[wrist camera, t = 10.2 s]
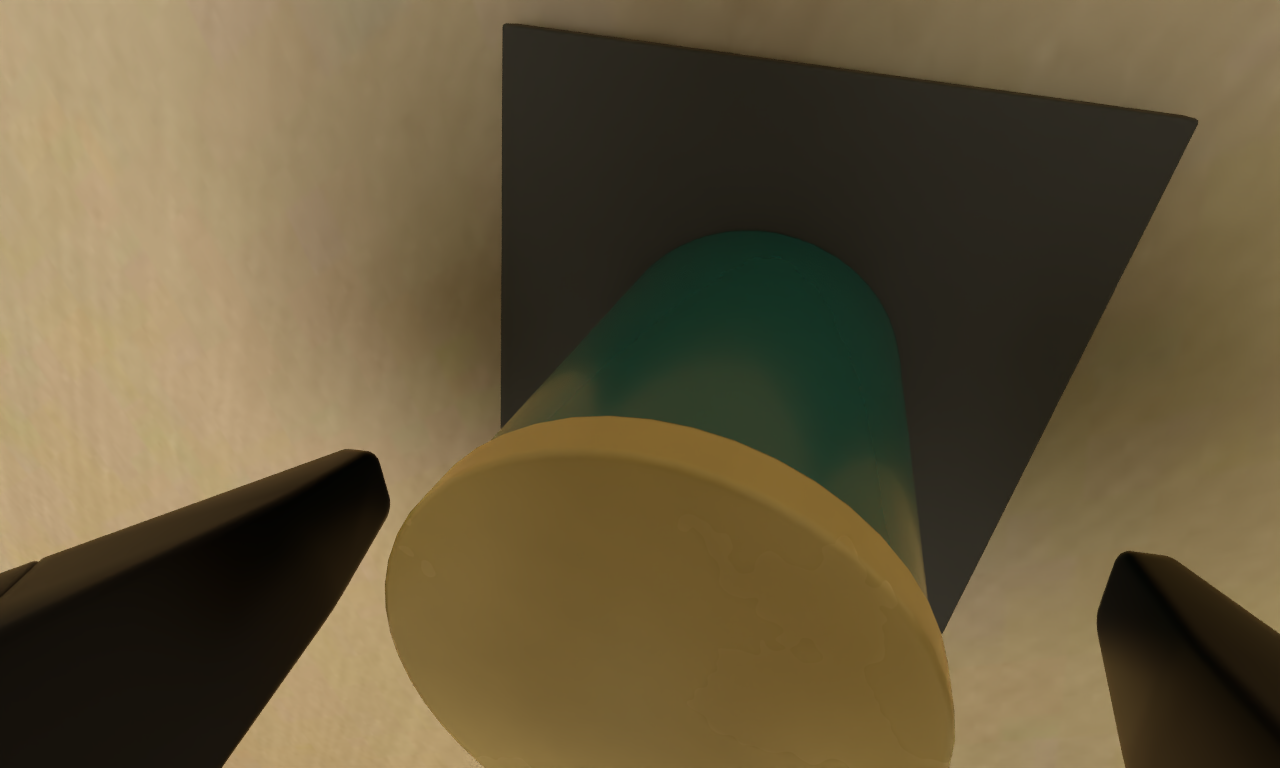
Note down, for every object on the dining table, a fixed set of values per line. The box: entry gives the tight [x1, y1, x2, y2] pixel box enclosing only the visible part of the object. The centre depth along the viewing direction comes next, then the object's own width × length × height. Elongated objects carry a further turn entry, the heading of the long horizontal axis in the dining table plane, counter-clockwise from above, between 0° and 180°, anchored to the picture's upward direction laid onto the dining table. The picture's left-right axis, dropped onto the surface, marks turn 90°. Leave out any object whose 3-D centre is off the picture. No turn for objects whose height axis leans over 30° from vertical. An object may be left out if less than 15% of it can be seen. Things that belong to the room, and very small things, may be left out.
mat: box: [501, 23, 1198, 634], centre depth 12 cm, size 10×10×1 cm
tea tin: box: [385, 231, 955, 768], centre depth 9 cm, size 5×5×7 cm
